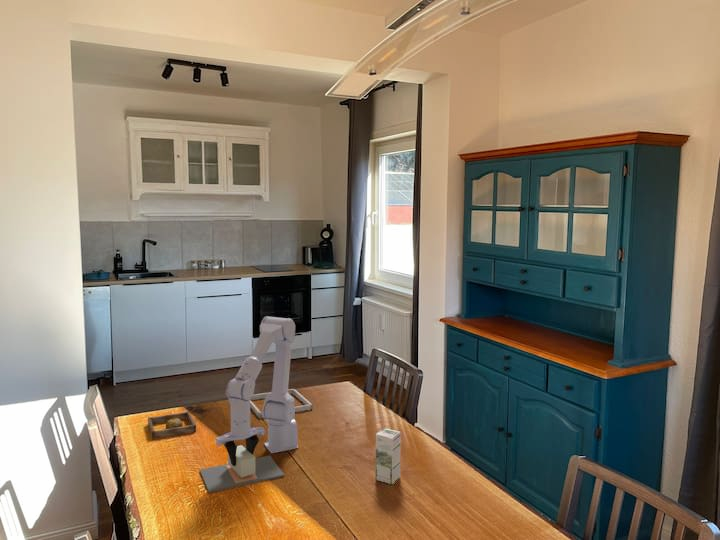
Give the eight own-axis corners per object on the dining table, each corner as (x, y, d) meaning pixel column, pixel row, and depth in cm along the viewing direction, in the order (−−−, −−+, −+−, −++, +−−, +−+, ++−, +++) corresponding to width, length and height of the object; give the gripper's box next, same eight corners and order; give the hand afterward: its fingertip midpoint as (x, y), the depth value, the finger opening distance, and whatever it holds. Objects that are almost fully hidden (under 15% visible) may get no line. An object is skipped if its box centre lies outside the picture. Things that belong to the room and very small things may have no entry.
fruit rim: (189, 417, 207) (189, 411, 207) (196, 431, 194) (195, 425, 194) (148, 424, 201) (148, 417, 200) (152, 439, 188) (152, 432, 187)
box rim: (294, 393, 236) (294, 388, 236) (312, 409, 217) (312, 404, 216) (244, 400, 226) (244, 395, 226) (259, 418, 207) (259, 413, 207)
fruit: (174, 436, 191) (173, 426, 190) (159, 430, 195) (158, 421, 195) (193, 428, 198) (193, 419, 197) (178, 423, 202) (178, 414, 202)
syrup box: (400, 477, 162) (401, 430, 160) (391, 486, 157) (392, 437, 155) (384, 472, 165) (384, 426, 163) (374, 481, 160) (375, 433, 158)
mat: (270, 457, 175) (270, 455, 175) (284, 476, 162) (284, 474, 162) (199, 471, 165) (199, 469, 165) (208, 492, 152) (208, 490, 152)
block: (255, 473, 161) (255, 457, 160) (241, 477, 158) (241, 461, 157) (241, 460, 169) (241, 444, 168) (228, 464, 166) (227, 448, 166)
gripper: (257, 409, 169) (257, 451, 171) (212, 419, 161) (213, 463, 162) (267, 416, 163) (267, 459, 165) (221, 427, 155) (222, 473, 157)
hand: (241, 462), depth 163 cm, fingers closed on block, 4 cm apart
